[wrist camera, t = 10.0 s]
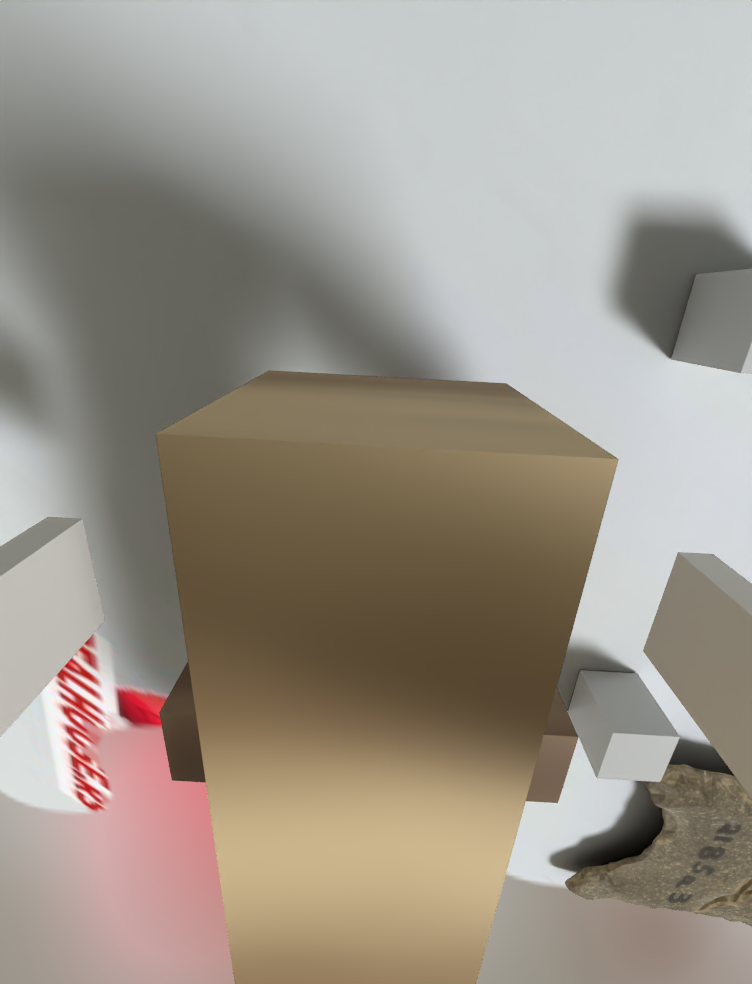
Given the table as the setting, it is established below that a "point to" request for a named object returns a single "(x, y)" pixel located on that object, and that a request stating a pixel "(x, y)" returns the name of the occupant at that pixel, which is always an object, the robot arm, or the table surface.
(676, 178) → the table surface
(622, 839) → the table surface
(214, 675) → the brass bar
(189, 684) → the stepped block
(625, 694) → the gray blocks
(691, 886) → the stone tool
